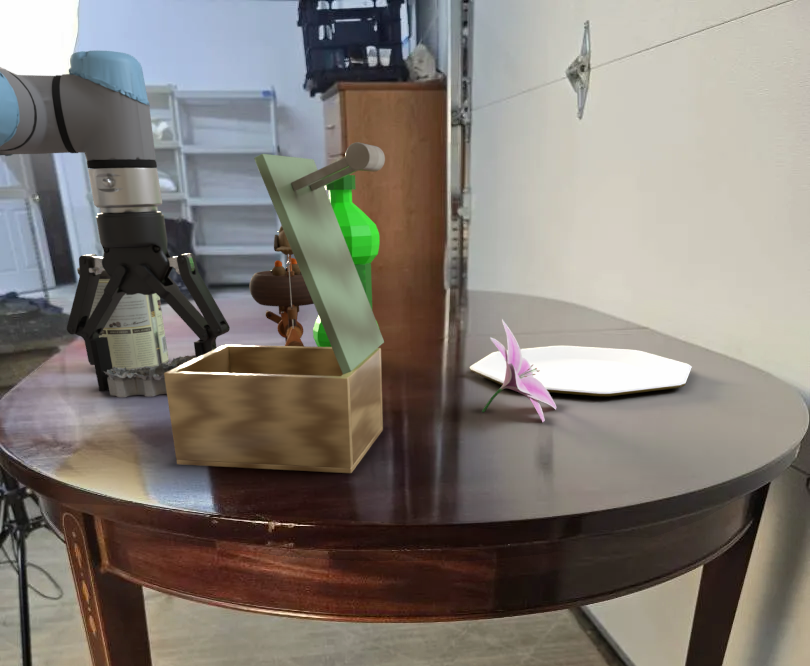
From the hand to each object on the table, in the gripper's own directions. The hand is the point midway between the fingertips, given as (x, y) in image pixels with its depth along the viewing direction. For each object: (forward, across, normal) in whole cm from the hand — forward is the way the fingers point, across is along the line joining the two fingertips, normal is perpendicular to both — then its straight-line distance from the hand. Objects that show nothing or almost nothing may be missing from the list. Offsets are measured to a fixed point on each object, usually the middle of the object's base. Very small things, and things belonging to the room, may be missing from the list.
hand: (157, 392), depth 98 cm
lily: (+1, +46, -5) cm, 46 cm away
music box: (0, +16, +7) cm, 17 cm away
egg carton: (0, 0, 0) cm, 0 cm away
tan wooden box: (0, +24, -20) cm, 31 cm away
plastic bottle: (0, +19, +24) cm, 30 cm away
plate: (+1, +53, +16) cm, 55 cm away
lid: (-17, +29, -20) cm, 39 cm away
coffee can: (0, -10, +13) cm, 17 cm away
